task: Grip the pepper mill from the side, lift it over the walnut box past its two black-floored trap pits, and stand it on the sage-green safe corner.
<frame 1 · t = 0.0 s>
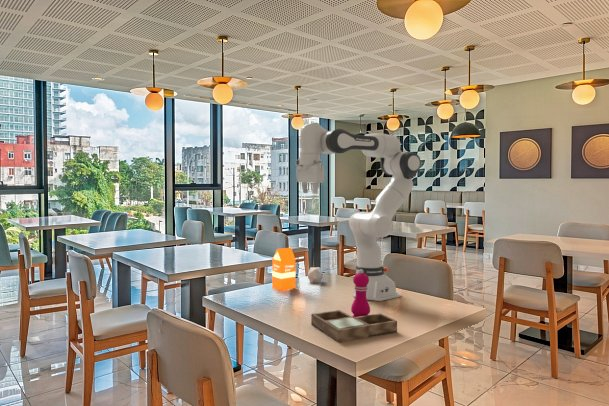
hand: (310, 193, 189), 48 cm above the table, tool pointing down, fingers open, 8 cm apart
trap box: (353, 328, 160), on the table
die: (315, 282, 232), on the table
pepper mill: (360, 321, 169), on the table
orange juice: (283, 288, 219), on the table
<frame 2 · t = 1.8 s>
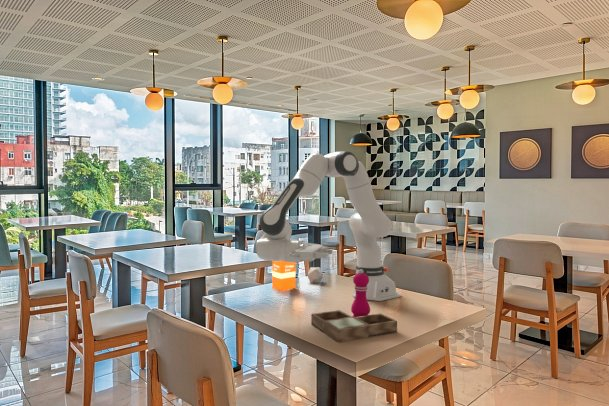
hand: (329, 253, 171), 25 cm above the table, tool horizontal, fingers open, 8 cm apart
nothing on the table moved.
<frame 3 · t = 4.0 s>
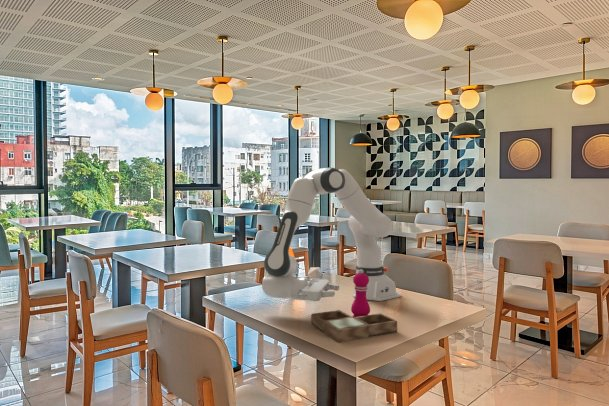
hand: (336, 290, 171), 11 cm above the table, tool horizontal, fingers open, 8 cm apart
nothing on the table moved.
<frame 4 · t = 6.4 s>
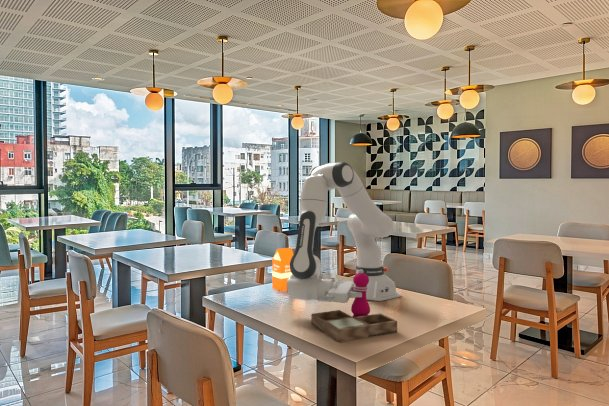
hand: (363, 292, 168), 11 cm above the table, tool horizontal, fingers closed on pepper mill, 5 cm apart
pepper mill: (360, 321, 169), on the table, touching gripper
everything else where it was.
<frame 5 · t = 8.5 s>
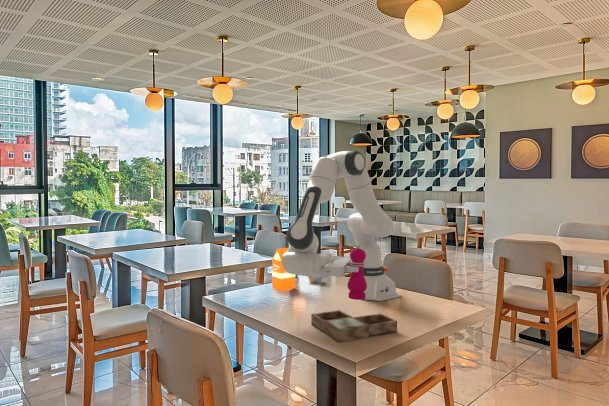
hand: (360, 267, 164), 21 cm above the table, tool horizontal, fingers closed on pepper mill, 5 cm apart
pepper mill: (356, 298, 165), point 10 cm above the table, touching gripper
everything else where it was.
when the fingers open (17 cm above the table, at t = 10.9 s): pepper mill drops 1 cm, resting on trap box.
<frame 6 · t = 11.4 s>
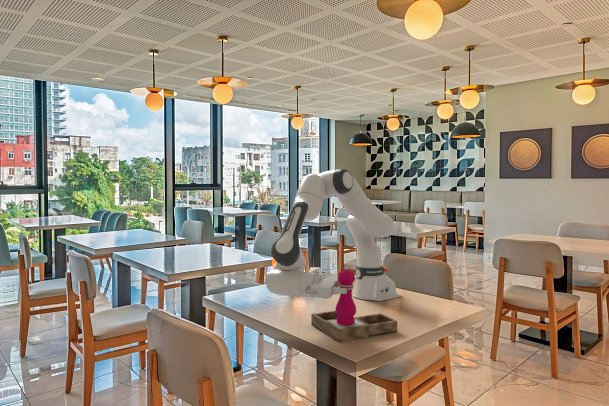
hand: (349, 287, 152), 17 cm above the table, tool horizontal, fingers open, 8 cm apart
pepper mill: (345, 323, 153), point 4 cm above the table, touching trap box
everything else where it was.
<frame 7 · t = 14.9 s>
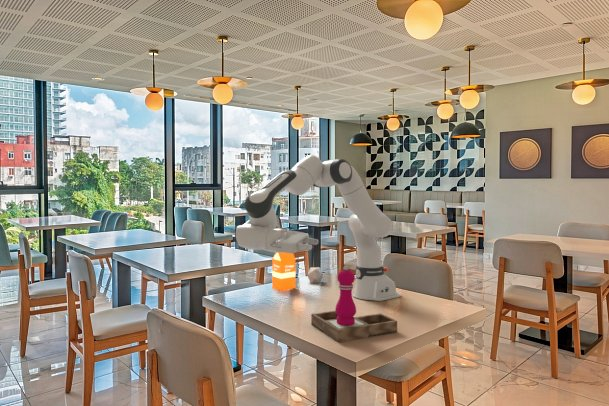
hand: (314, 244, 156), 31 cm above the table, tool horizontal, fingers open, 8 cm apart
nothing on the table moved.
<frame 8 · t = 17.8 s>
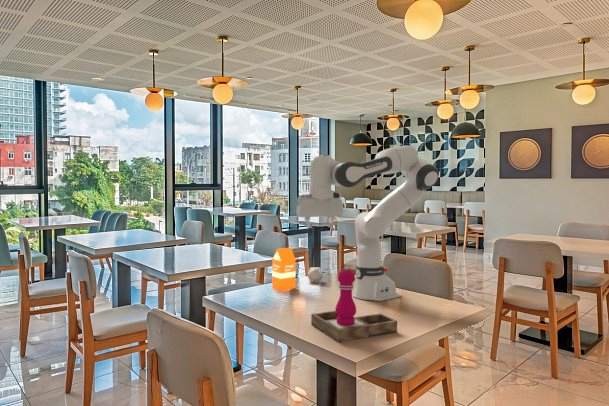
hand: (319, 227, 183), 34 cm above the table, tool pointing down, fingers open, 8 cm apart
nothing on the table moved.
at the end: pepper mill inside the target area on the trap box (0.2 cm from its centre), point 4.1 cm above the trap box's base; pepper mill tilted 0°; the gripper is holding nothing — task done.
